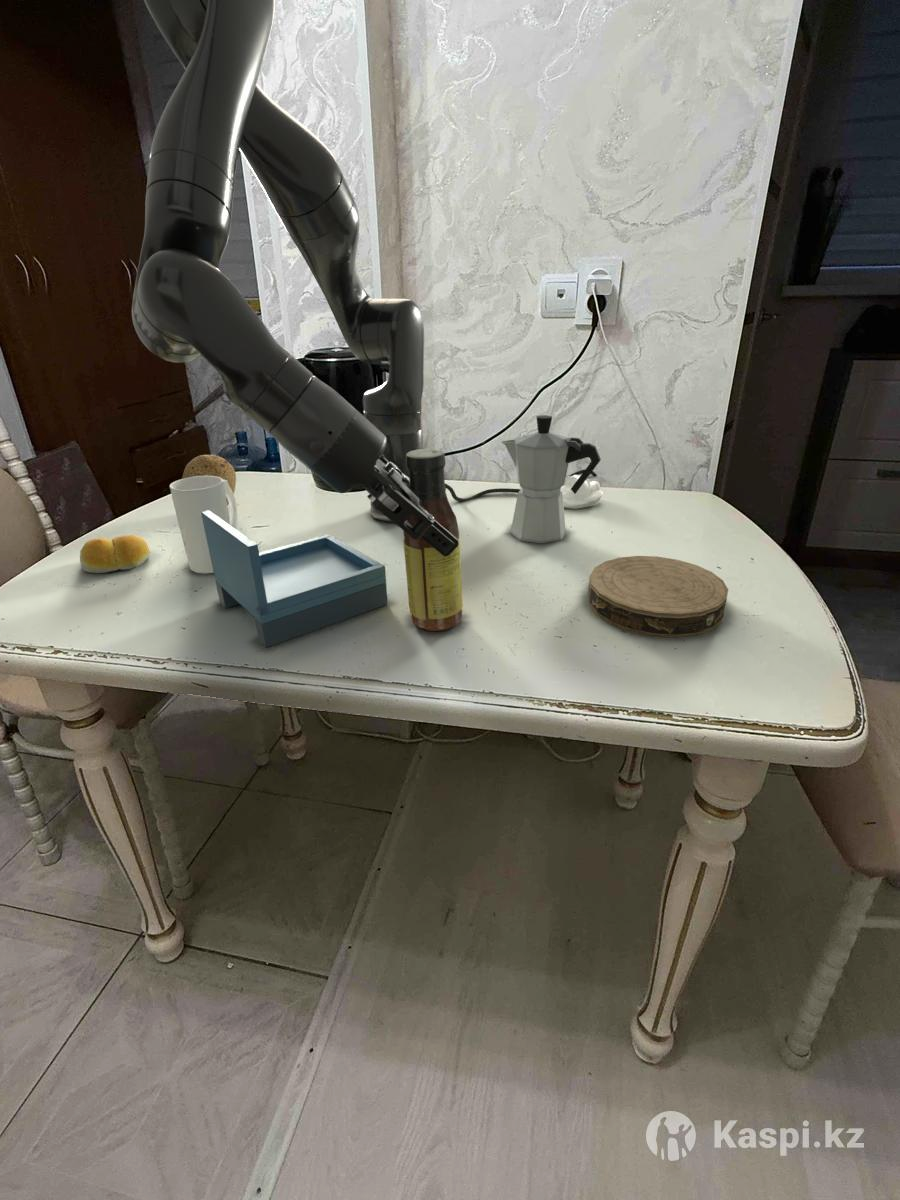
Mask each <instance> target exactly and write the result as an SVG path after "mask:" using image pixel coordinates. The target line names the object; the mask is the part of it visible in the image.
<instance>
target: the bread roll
mask: <svg viewBox="0 0 900 1200" xmlns="http://www.w3.org/2000/svg"><path fill="white" fill-rule="evenodd" d="M150 557H151V548H150V546H149V544H148V542H147V541H146V540H144V538H142V537H140V536H138V535H135V534H129V535H119V536H116V537H114V538H112V539H109V538H104V537H98V538H92V539H90V540H89V539H88V541H86V542H85V543H84V544H83V546H82V547H81V550H80V551H79V563H80V566H81V570H83V571H85V572H87V573H90V574H91V573H92V574H105V573H111V572H116V571H118V570H123V571H124V570H131V569H135V568H138V567H139V566H141V565H142V564H143V563H145V562H146V561H147V560H148V559H149V558H150Z"/></svg>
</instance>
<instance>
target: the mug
mask: <svg viewBox="0 0 900 1200" xmlns="http://www.w3.org/2000/svg"><path fill="white" fill-rule="evenodd" d="M168 487H169V489H170V494H171V499H172V503H173V508H174V511H175V514H176V515H175V516H176V519H177V523H178V527H179V531H180V535H181V539H182V542H183V547H184V551H185V554H186V558H187V562H188V564H189V565H188V566H189V569H190V570H191V571H192V572H194V573H197V574H205V575H206V574H214V573H213V568H212V563H211V558H210V553H209V548H208V544H207V539H206V534H205V529H204V524H203V520H202V515H201V512H203V511H207V510H210V511H211V512H212V513H214V514H215V515H217V516H218V517H220V518H221V519H222V520H224V521H225V522H227V523H228V524H229V525H231V526H232V527H234V528H235V529H236V530H237V528H238V527H237V526H238V525H237V524H238V507H237V501H236V497H235V493H234V494H233V492H232V490H231V488H230V487H229V485H228V481H227V480H223V479H222V478H220V477H216V476H195V477H189V478H184V479H182V478H181V479H178V480H175V481H173V482H171V483H170V484H169V486H168ZM226 497H227V499H228V503H229V505H228V506H227V501H226Z"/></svg>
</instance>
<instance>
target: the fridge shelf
mask: <svg viewBox="0 0 900 1200" xmlns="http://www.w3.org/2000/svg"><path fill="white" fill-rule="evenodd" d="M201 515H202V520H203V524H204V529H205V534H206V539H207V544H208V548H209V553H210V558H211V563H212V568H213V573H212V574H213V576H214V581H215V587H216V591H217V596H218V601H219V603H220V605H221V606H222V607H223V608H225V609H228V608H232V607H235V606H238V605H240V606H242V607H243V608H244V609H245V610H246V611H247V612H248V613H249V614H250V615H252V616H253V617H254V623H255V627H256V632H257V638H258V641H259V642H260V643H261V644H262V646H263V647H265V648H269V647H272V646H275V645H277V644H278V645H279V644H281V643H283V642H286V641H289V640H291V639H294V638H298V637H300V636H304V635H306V634H309V633H311V632H314V631H317V630H319V629H322V628H325V627H328V626H331V625H334V624H337V623H339V622H342V621H345V620H347V619H350V618H353V617H356V616H359V615H361V614H364V613H368V612H369V611H374V610H376V609H378V608H381V607H383V606H386V605H388V604H389V603H388V589H387V576H386V566H385V565H384V564H382V563H380V562H378V561H377V560H375V559H374V558H372V557H370V556H368V555H366V554H365V553H363V552H361V551H359V550H357V549H355V548H354V547H352V546H351V545H348V544H347V543H345V542H344V541H342V540H340V539H338V538H337V537H335V536H333V535H332V534H330V533H326V534H323V535H319V536H316V537H315V536H314V537H312V538H307V539H304V540H300V541H297V542H293V543H289V544H286V545H282V546H278V547H275V548H271V549H268V550H263V551H260V552H259V545H258V543H256V542H254V540H252V539H250V537H248V536H246V535H245V534H244V533H242V532H241V531H239V530H238V529H237V528H236V529H235V528H234V527H232V526H231V525H229V524H228V523H227V522H225V521H224V520H222V519H221V518H220V517H218V516H217V515H215V514H214V513H212V512H211V511H210V510H207V511H203V512H201Z"/></svg>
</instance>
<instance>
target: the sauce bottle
mask: <svg viewBox="0 0 900 1200" xmlns="http://www.w3.org/2000/svg"><path fill="white" fill-rule="evenodd" d="M446 463H447V462H446V455H445V451H443V450H441V449H437V448H423V449H419V450H414V451H410V452H408V453H407V454H406V466H407V468H408V470H409V479H410V488H411V489H412V490H413V491H414V492H415V493H416V494H417V495H418V496H419V497H420V498H421V499H422V507H423V508H424V509H425V510H426V511H427V512H428V513H429V514H431V515H433V517H434V519H435V520H436V521H437V522H438V523H439V524H441V525H442V526H443V527H444V528H445V529H446V530H447V531H449V532H450V533H451V534H452V535H453V536H454V537H456V538H457V540H458V542H459V545H458V547H457V548H456V549H455V550H454V551H453V552H452V553H451V554H450V555H449V556H443V555H442V554H441V553H440V552H438V551H437V550H436V549H435V548H434V547H432V546H431V545H430V544H429V543H428V542H426V541H425V540H424V539H423V538H422V537H420V538H419V539H418V540H415V539H412V538H411V537H410V535H409V534H408V533H406V532H405V531H404V530H403V529H402V533H403V541H402V542H403V543H402V544H403V552H404V564H405V574H406V586H407V587H406V588H407V597H408V599H407V600H408V610H409V612H410V614H411V619H412V624H413V625H414V626H415V627H417V628H420V629H423V630H425V631H430V632H438V631H439V632H441V631H447V630H450V629H452V628H455V627H456V626H457V625H459V624H460V622H461V621H462V619H463V606H464V603H463V583H462V582H463V581H462V562H461V544H460V543H461V542H460V530H459V525H458V521H457V520H458V519H457V516H456V514H455V512H454V511H453V508H452V506H451V504H450V501H449V499H448V495H447V488H446V487H445V484H446V482H445V466H446ZM409 501H410V500H409ZM409 520H410V521H411V522H412V523H413V524H414V525H416V523H417V522H418V521H419V520H420V518H419V517H418V516H417V515H416V514H412V515H411V516H410V517H409Z"/></svg>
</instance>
